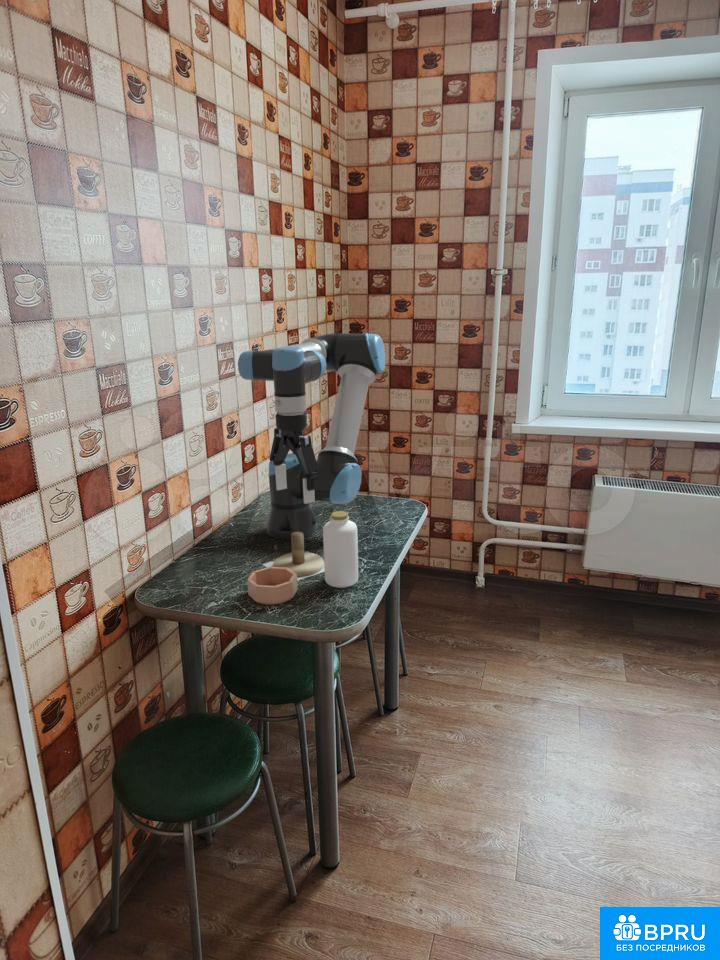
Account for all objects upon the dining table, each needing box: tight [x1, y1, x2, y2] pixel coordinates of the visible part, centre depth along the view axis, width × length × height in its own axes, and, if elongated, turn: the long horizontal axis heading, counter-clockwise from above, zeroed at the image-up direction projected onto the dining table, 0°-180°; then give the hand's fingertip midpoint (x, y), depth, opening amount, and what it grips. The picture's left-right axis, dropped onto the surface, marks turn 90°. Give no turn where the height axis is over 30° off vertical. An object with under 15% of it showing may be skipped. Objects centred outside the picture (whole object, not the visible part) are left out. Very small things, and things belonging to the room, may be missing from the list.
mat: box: [262, 550, 325, 581], centre depth 170 cm, size 14×14×1 cm
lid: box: [273, 532, 324, 577], centre depth 169 cm, size 13×13×9 cm
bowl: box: [246, 567, 299, 606], centre depth 155 cm, size 11×11×5 cm
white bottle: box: [322, 510, 359, 589], centre depth 159 cm, size 8×8×18 cm
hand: (295, 495), depth 164 cm, fingers open, 13 cm apart
